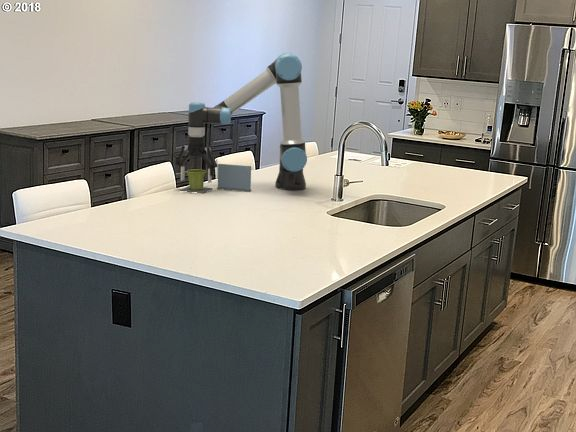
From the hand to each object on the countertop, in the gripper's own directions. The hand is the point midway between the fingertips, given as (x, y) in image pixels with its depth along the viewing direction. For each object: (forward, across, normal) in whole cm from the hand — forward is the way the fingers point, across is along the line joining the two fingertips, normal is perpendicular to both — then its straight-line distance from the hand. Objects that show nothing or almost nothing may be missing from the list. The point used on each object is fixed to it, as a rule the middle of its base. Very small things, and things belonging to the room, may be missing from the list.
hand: (196, 181), depth 362 cm
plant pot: (+4, 0, 0) cm, 4 cm away
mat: (+4, 0, 0) cm, 4 cm away
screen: (+4, -16, -8) cm, 19 cm away
